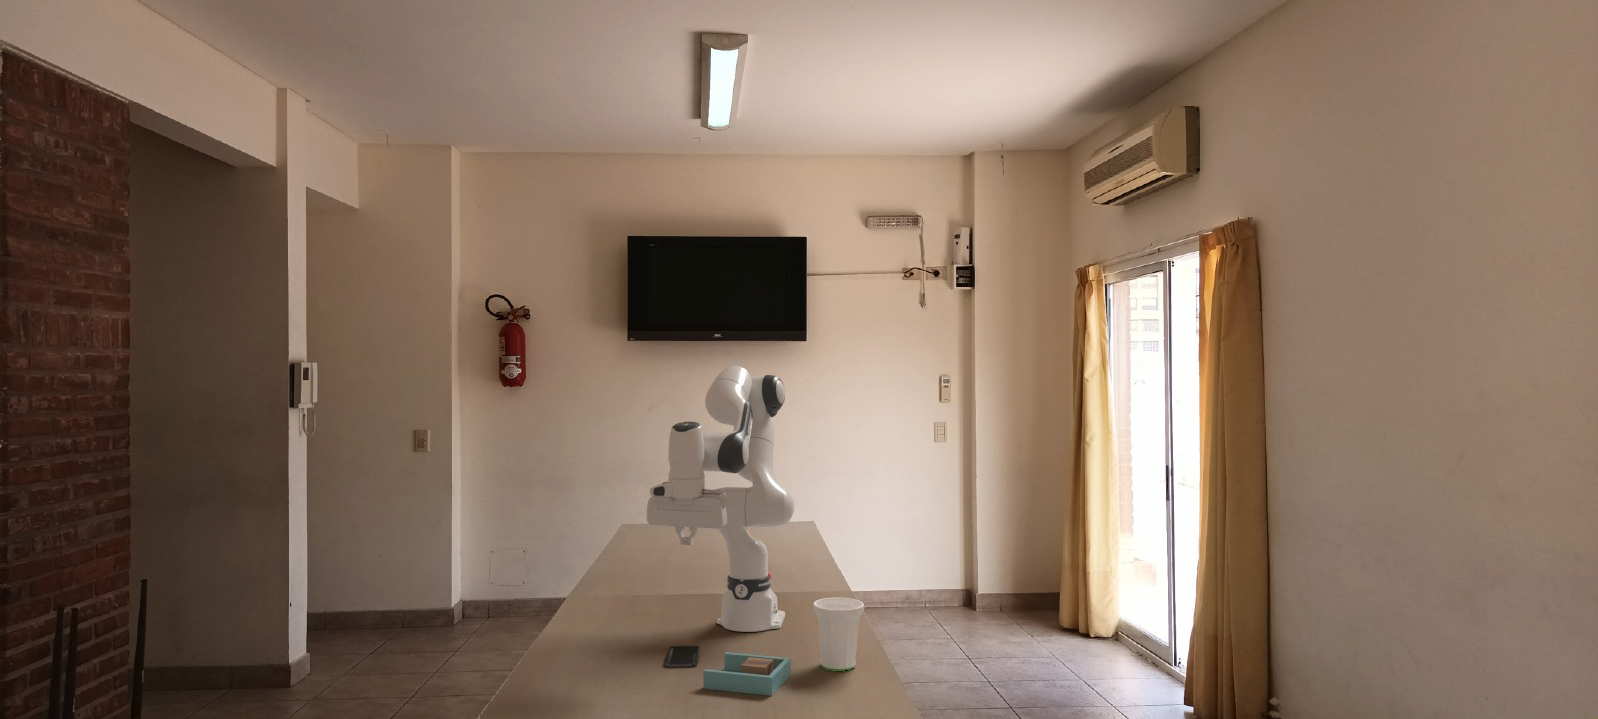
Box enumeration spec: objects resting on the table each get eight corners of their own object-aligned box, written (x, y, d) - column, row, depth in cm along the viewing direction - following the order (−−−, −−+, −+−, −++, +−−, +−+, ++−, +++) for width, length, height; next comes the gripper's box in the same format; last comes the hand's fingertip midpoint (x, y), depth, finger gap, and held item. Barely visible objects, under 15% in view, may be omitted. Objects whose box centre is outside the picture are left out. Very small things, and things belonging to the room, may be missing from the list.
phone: (664, 664, 223) (670, 645, 238) (664, 669, 223) (670, 650, 238) (696, 664, 224) (700, 645, 239) (696, 668, 224) (700, 650, 239)
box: (726, 668, 223) (726, 652, 223) (790, 675, 218) (790, 658, 218) (703, 688, 209) (703, 670, 209) (772, 695, 204) (772, 677, 204)
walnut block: (749, 678, 216) (749, 657, 216) (773, 680, 215) (773, 659, 215) (740, 686, 210) (740, 665, 210) (765, 689, 209) (765, 667, 209)
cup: (802, 665, 225) (802, 603, 225) (837, 654, 234) (837, 594, 234) (839, 678, 216) (839, 612, 216) (874, 666, 225) (874, 603, 225)
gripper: (730, 488, 226) (731, 544, 226) (654, 484, 232) (654, 539, 232) (721, 492, 220) (721, 549, 220) (643, 488, 226) (643, 544, 226)
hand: (686, 544), depth 226 cm, fingers closed
